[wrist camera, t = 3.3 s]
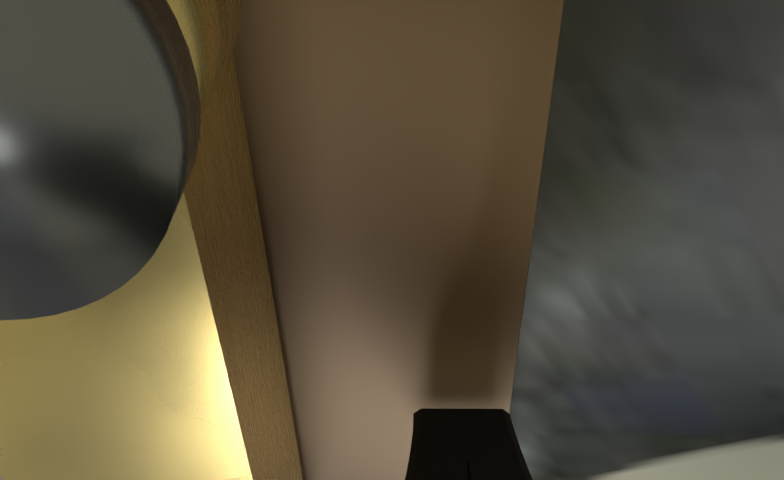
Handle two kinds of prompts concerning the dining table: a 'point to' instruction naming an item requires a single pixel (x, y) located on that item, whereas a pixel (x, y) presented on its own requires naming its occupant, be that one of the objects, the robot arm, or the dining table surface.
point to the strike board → (394, 207)
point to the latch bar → (133, 250)
